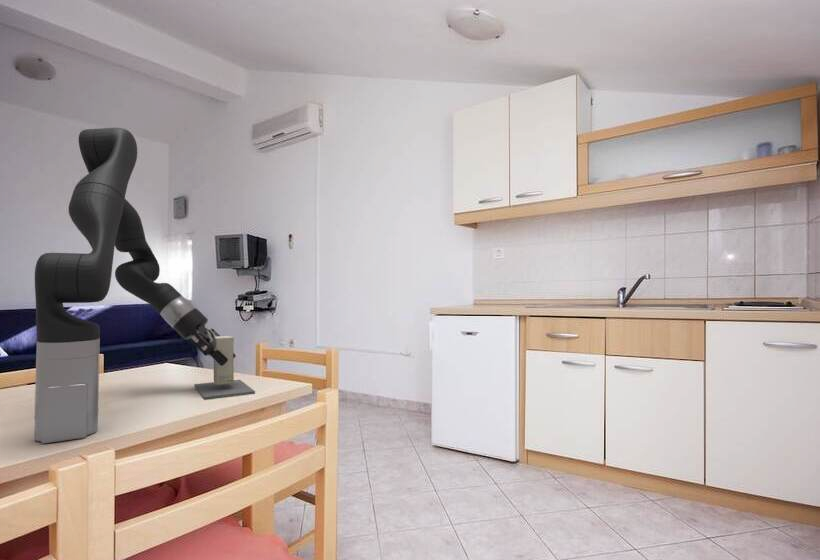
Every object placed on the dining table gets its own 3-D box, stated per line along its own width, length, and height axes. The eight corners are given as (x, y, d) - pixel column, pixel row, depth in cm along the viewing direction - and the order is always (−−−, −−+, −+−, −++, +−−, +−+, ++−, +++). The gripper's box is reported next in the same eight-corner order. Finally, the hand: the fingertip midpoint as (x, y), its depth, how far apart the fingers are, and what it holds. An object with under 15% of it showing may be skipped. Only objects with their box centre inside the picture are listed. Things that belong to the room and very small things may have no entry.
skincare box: (233, 383, 116) (234, 337, 117) (215, 385, 114) (216, 338, 114) (230, 379, 122) (230, 335, 122) (212, 381, 119) (213, 336, 120)
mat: (255, 393, 113) (255, 391, 113) (204, 399, 107) (204, 397, 107) (239, 381, 129) (239, 379, 129) (194, 386, 122) (194, 384, 122)
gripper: (185, 308, 110) (233, 354, 111) (203, 306, 124) (246, 347, 126) (161, 329, 109) (210, 376, 111) (183, 325, 124) (226, 366, 125)
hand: (229, 360), depth 118 cm, fingers closed on skincare box, 7 cm apart
